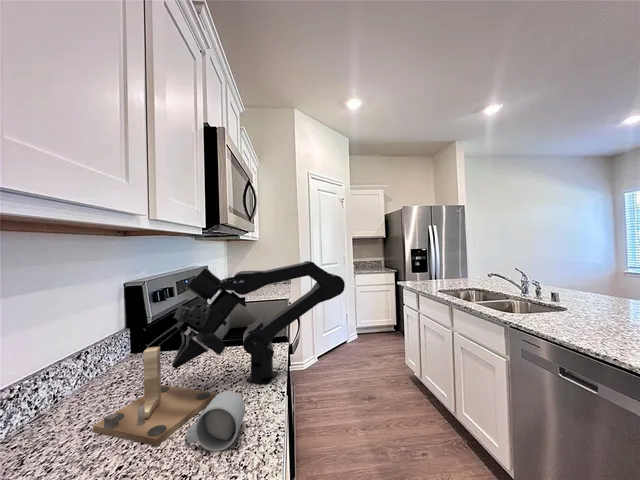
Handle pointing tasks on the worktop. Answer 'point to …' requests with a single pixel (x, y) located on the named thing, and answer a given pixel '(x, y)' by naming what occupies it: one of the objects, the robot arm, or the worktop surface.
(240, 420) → the ceramic mug
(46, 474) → the worktop surface
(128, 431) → the stool seat
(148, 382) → the hinged leg
